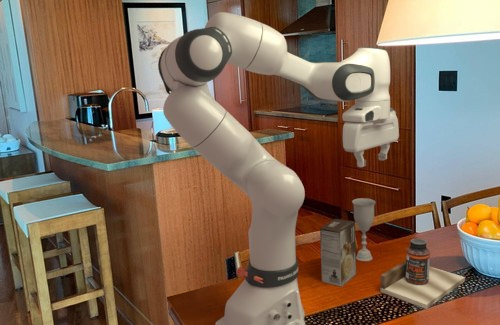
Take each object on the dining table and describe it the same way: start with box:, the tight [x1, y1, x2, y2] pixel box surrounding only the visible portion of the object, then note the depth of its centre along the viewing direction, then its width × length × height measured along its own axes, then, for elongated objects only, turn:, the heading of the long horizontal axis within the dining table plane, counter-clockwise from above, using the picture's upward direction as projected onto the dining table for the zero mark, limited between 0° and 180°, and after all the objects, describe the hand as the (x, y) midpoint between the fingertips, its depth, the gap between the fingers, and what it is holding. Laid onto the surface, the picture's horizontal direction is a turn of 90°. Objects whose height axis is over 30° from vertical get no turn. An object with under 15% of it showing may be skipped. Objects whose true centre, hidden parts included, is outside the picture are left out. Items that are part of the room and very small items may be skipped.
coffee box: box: [319, 218, 357, 287], centre depth 135 cm, size 9×6×16 cm
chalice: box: [351, 197, 377, 262], centre depth 147 cm, size 7×7×18 cm
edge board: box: [380, 260, 466, 310], centre depth 129 cm, size 20×13×5 cm, turn 131°
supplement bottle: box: [405, 238, 431, 285], centre depth 129 cm, size 6×6×11 cm
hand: (372, 163), depth 128 cm, fingers open, 8 cm apart
